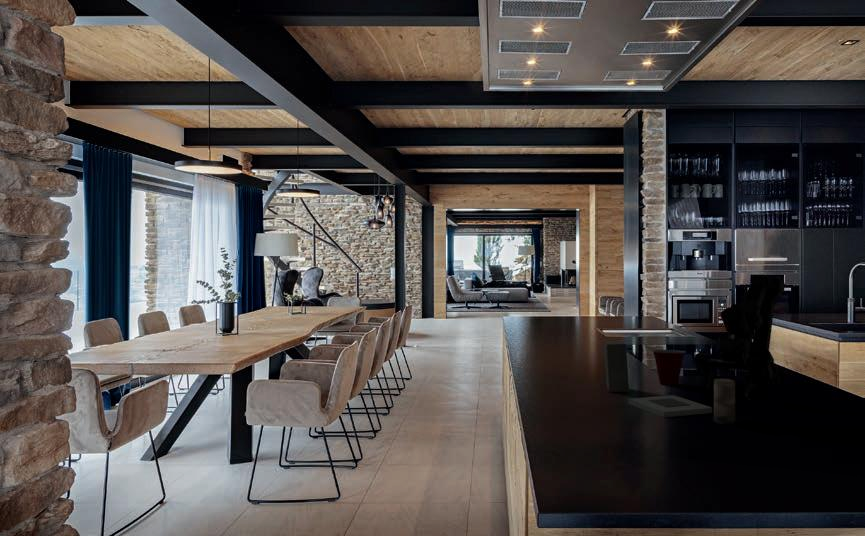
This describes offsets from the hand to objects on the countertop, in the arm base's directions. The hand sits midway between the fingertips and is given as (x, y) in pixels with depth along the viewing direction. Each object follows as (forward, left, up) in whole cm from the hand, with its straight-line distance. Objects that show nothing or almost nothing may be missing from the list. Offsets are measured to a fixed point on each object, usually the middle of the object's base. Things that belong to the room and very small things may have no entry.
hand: (724, 391), depth 155 cm
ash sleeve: (0, 0, -8) cm, 8 cm away
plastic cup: (+11, -47, -8) cm, 49 cm away
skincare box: (+28, -32, -8) cm, 43 cm away
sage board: (+13, -11, -8) cm, 19 cm away
